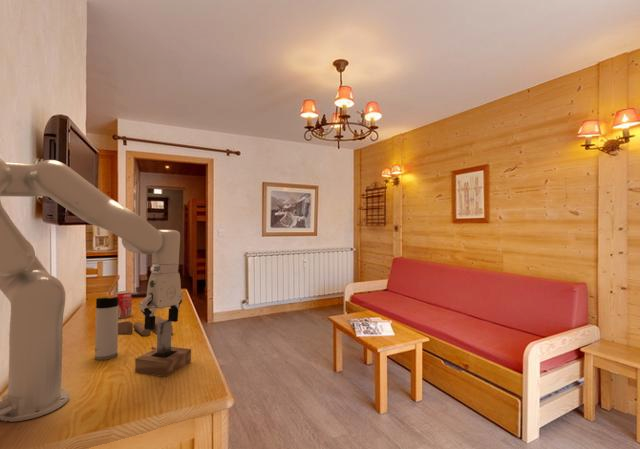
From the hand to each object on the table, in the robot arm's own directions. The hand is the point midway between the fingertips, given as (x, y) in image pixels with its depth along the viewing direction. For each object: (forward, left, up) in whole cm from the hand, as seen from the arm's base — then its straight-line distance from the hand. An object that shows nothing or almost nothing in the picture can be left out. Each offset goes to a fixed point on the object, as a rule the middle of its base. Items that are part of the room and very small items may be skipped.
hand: (161, 325), depth 98 cm
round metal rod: (+1, 0, -13) cm, 13 cm away
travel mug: (+2, +24, -13) cm, 27 cm away
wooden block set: (+24, +30, -14) cm, 40 cm away
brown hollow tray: (+1, 0, -13) cm, 13 cm away
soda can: (+41, +59, -13) cm, 73 cm away
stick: (+11, +10, -13) cm, 20 cm away
